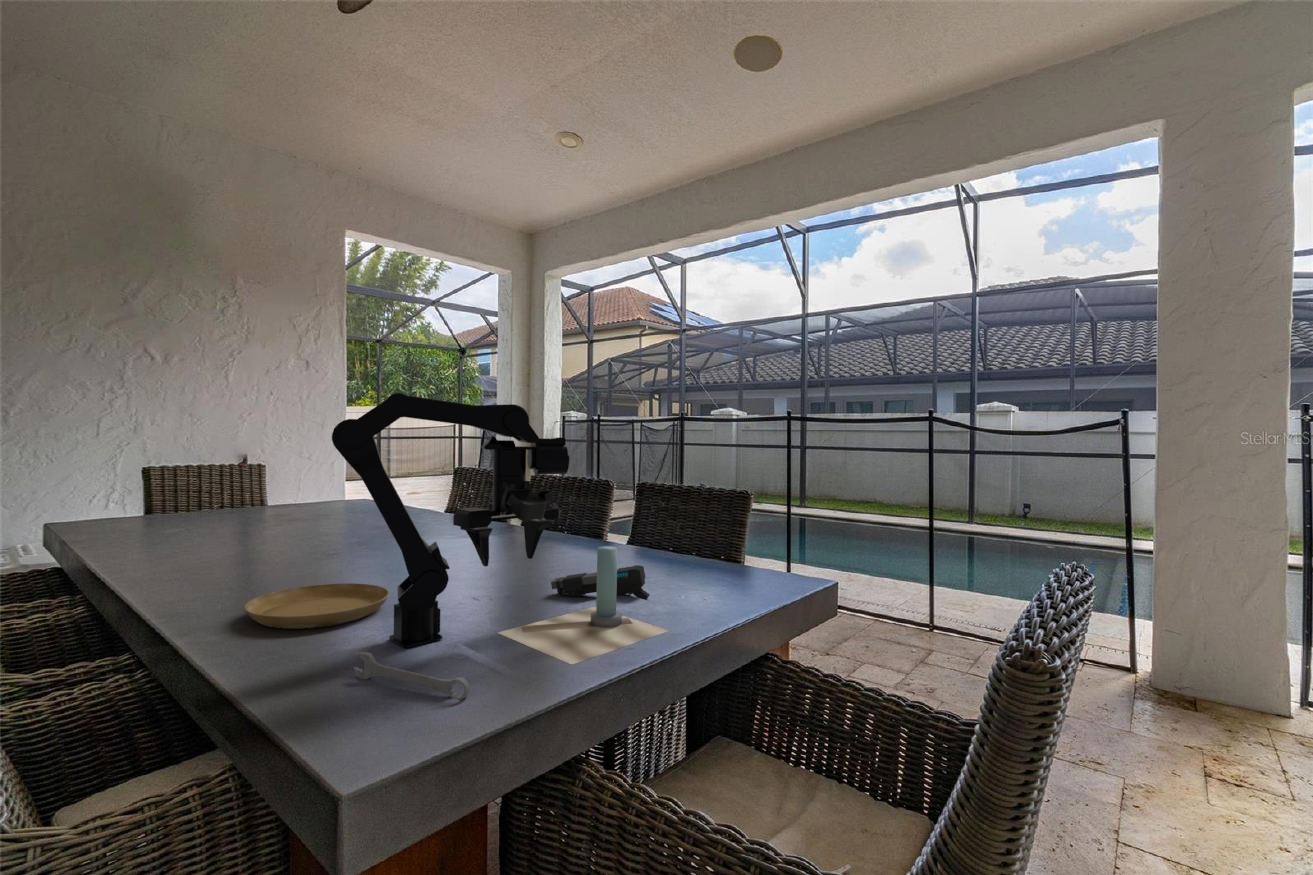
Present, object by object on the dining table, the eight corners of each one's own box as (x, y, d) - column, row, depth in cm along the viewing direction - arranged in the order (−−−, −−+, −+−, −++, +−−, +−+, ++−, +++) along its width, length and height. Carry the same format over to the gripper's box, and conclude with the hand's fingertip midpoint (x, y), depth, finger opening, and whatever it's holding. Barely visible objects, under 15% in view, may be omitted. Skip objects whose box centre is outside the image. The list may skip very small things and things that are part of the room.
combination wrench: (471, 675, 80) (359, 648, 88) (464, 678, 79) (352, 651, 87) (470, 703, 81) (358, 674, 88) (463, 706, 79) (351, 677, 87)
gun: (649, 602, 126) (634, 556, 127) (563, 627, 129) (549, 582, 130) (653, 596, 130) (639, 552, 131) (570, 621, 134) (556, 577, 134)
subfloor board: (571, 671, 90) (571, 664, 90) (497, 638, 103) (497, 632, 103) (670, 636, 106) (670, 630, 106) (594, 611, 119) (594, 606, 119)
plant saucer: (339, 591, 132) (340, 576, 132) (415, 608, 121) (415, 591, 121) (216, 621, 111) (217, 603, 111) (294, 644, 100) (294, 624, 100)
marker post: (610, 629, 106) (611, 552, 106) (584, 624, 109) (585, 548, 108) (627, 621, 111) (628, 547, 111) (602, 616, 113) (603, 544, 113)
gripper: (487, 480, 96) (486, 578, 96) (579, 475, 109) (577, 561, 110) (452, 476, 103) (451, 567, 103) (541, 472, 117) (540, 552, 117)
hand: (508, 562), depth 108 cm, fingers open, 9 cm apart
